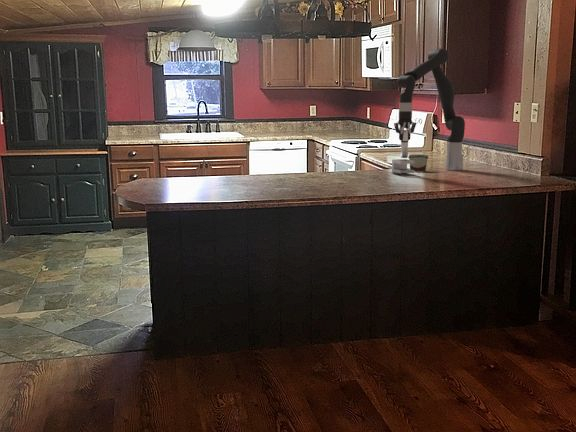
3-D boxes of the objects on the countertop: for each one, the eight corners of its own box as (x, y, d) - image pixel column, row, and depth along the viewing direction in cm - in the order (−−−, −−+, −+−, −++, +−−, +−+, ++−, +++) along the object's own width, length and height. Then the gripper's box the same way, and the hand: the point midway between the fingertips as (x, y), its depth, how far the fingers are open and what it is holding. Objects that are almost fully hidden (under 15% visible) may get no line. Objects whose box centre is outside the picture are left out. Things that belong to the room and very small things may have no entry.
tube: (405, 157, 384) (406, 129, 380) (409, 157, 380) (409, 130, 377) (399, 157, 382) (400, 130, 379) (402, 158, 378) (403, 130, 375)
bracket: (403, 172, 392) (404, 158, 391) (414, 175, 380) (414, 160, 378) (390, 173, 389) (390, 159, 388) (400, 176, 377) (400, 161, 376)
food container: (427, 170, 404) (427, 154, 402) (428, 171, 398) (428, 155, 396) (407, 170, 405) (407, 154, 403) (407, 171, 399) (408, 155, 397)
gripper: (413, 110, 381) (412, 139, 385) (391, 110, 377) (390, 140, 380) (419, 110, 374) (418, 140, 378) (397, 110, 370) (396, 141, 373)
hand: (404, 140), depth 379 cm, fingers closed on tube, 4 cm apart
